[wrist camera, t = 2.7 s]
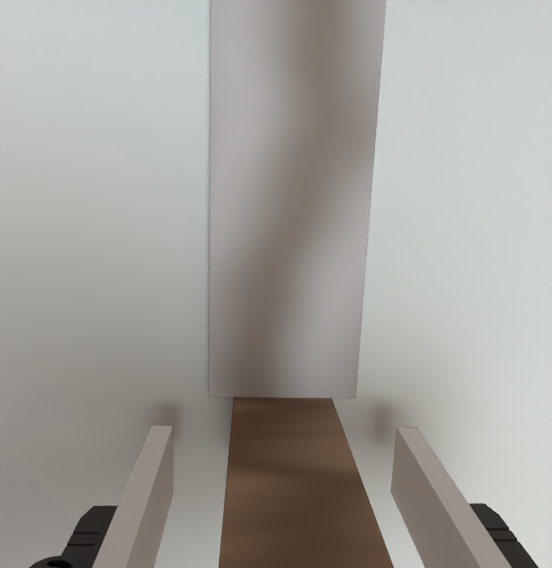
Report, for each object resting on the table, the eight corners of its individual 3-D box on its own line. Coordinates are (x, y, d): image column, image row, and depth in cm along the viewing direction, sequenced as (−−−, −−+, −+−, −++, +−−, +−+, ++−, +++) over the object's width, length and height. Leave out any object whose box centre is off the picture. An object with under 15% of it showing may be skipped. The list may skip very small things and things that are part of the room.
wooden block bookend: (210, 452, 20) (151, 829, 8) (213, -88, 16) (99, -881, 4) (346, 452, 20) (473, 815, 9) (386, -76, 16) (745, -773, 4)
